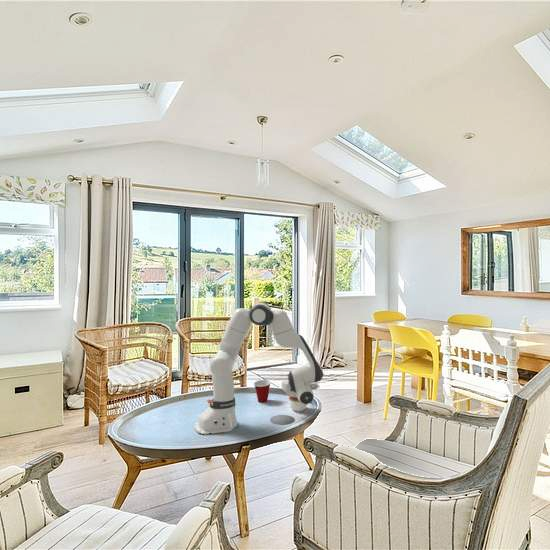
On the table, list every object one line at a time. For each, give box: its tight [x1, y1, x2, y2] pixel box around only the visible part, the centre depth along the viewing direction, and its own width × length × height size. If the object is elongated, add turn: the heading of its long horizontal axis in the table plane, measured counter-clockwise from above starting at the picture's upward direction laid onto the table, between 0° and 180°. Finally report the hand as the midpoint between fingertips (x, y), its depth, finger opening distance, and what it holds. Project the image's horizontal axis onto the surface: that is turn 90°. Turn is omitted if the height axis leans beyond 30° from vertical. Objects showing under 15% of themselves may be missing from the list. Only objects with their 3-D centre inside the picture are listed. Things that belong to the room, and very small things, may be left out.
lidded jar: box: [288, 395, 308, 413], centre depth 216 cm, size 11×11×9 cm
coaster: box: [269, 414, 296, 426], centre depth 202 cm, size 14×14×1 cm
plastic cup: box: [253, 379, 271, 404], centre depth 231 cm, size 11×11×12 cm
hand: (297, 380), depth 217 cm, fingers open, 8 cm apart
